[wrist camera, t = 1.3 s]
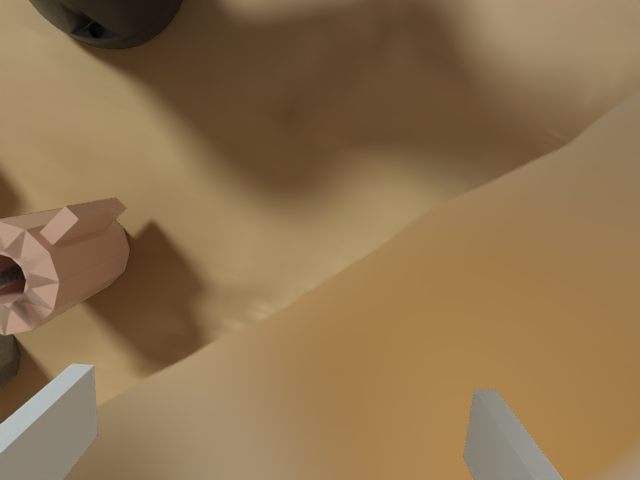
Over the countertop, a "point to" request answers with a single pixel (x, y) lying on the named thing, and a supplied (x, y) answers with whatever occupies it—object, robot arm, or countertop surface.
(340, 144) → the countertop surface
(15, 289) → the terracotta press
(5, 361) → the faceted cylinder
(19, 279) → the glossy charcoal round knob
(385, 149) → the countertop surface
